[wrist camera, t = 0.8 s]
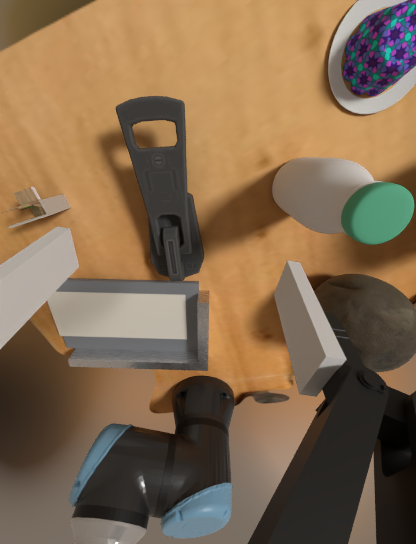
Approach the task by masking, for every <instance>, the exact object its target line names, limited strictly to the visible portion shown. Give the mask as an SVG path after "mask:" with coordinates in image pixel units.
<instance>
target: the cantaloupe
mask: <svg viewBox="0 0 416 544" xmlns="http://www.w3.org/2000/svg"><path fill="white" fill-rule="evenodd" d="M314 293H315V295H316V297H317V299H318V301H319V303H320V305H321V307H322V310H323V312H328V313H333V314H334V315H335V316H336V317H337V318H338V319H339V320H340V321H341V323H342V325H343V327H344V329H345V332H346V333H347V334H348V336H349V339H350V340H351V342H352V344H353V345H354V347H355V349H356V351H357V353H358V355H359V357H360V358H361V360H362V362H363V364H364V366H365V367H367V368H369V369H371V370H373V371H374V372H384V371H389V370H394V369H396V368H398V367H400V366H402V365H403V364H405V363H406V362H408V361H409V360H410V359H411V358H412V357H413V355H414V354H415V353H416V309H415V307H414V306H413V304H412V303H411V302H410V300H409V299H408V298H407V297H406V296H405V295H404V294H403V293H402V292H400V291H399V290H398V289H396V288H395V287H394V286H392V285H390V284H388V283H386V282H384V281H382V280H379V279H377V278H374V277H371V276H367V275H362V274H344V275H339V276H335V277H333V278H330V279H328V280H326V281H325V282H323V283H322V284H321V285H320V286H318V287H317V288H316V290H315V291H314Z"/></svg>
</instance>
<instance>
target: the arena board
mask: <svg viewBox="0 0 416 544" xmlns="http://www.w3.org/2000/svg"><path fill="white" fill-rule="evenodd" d="M198 293H199V281H173V282H172V281H159V280H116V279H73V278H68V279H67V280H66V281H65V282H64V283H63V284H62V285H61V286H60V287H59V288H58V289H57V290H56V291H55V292H54V293H53V295H52V296H51V297H50V298H49V299H48V300H47V302H48V305H49V307H50V310H51V313H52V316H53V318H54V321H55V324H56V327H57V329H58V332H59V335H60V336H63V338H64V341H65V344H66V347H67V348H90V349H124V350H159V351H193V352H198V319H197V301H198Z"/></svg>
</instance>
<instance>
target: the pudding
mask: <svg viewBox="0 0 416 544" xmlns="http://www.w3.org/2000/svg"><path fill="white" fill-rule="evenodd" d="M384 7H388V8H386V9H383V10H381V11H378V12H376V13H373V14H371V15H369V14H370V13H372V12H373V11H375V10H378V9H380V8H384ZM367 15H369V16H368V17H366V16H367ZM365 17H366V18H365ZM364 18H365V19H364ZM363 19H364V20H363ZM362 20H363V22H362V23H361V25H360V28H359V31H358V33H357V34H355V35H353V36H352V37H351V38H350V40H349V41H348V39H349V37H350V35H351V33H352V32H353V30H354V29H355V28H356V26H357V25H358V24H359V23H360V22H361V21H362ZM347 41H348V43H347ZM346 43H347V46H346ZM345 46H346V50H345V54H346V58H347V60H346V62H345V64H344V66H343V76H344V79H345V80H346V81H349V82H351V90H352V92H353V93H354V94H357V95H361V94H363V93H367V94H368V95H369V96H377V95H379V94H380V93H382V92H383V91H384V90H386V89H387V88H388V87H389V86H391V85H393V84H395V83H396V82H397V81H398V80H399V79H400V80H399V81H398V82H397V83H396V84H395V86H393V87H392V88H391V89H390V90H389V91H387V92H385V93H384V94H382V95H380V96H377V97H374V98H360V97H357V96H355V95H353V94H352V93H351V92H350V91H349V90H348V89H347V87H346V86H345V83H344V81H343V77H342V71H341V64H342V56H343V52H344V49H345ZM328 76H329V83H330V87H331V90H332V92H333V94H334V96H335V98H336V100H337V101H338V102H339V103H340V105H342V106H343V107H344V108H345V109H347V110H349V111H351V112H353V113H358V114H371V113H376V112H379V111H382V110H384V109H387V108H388V107H390V106H392V105H393V104H395V103H396V102H398V101H399V100H400V99H401V98H403V97H404V96H405V95H406V94H407V93H408V92H409V91H410V90H411V88H412V87H413V86H414V85H415V83H416V0H358V1H357V2H356V3H355V4H354V5H353V7H352V8H351V9H350V10H349V12H348V13H347V14H346V16H345V17H344V19H343V21H342V22H341V24H340V26H339V28H338V30H337V32H336V34H335V37H334V40H333V43H332V46H331V49H330V55H329V60H328Z"/></svg>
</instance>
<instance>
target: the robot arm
mask: <svg viewBox="0 0 416 544" xmlns="http://www.w3.org/2000/svg"><path fill="white" fill-rule="evenodd" d="M78 267H79V265H78V260H77V256H76V252H75V248H74V244H73V240H72V235H71V231H70V229H69V228H62V227H56V228H54V229H53V230H51V231H50V232H48V233H47V234H45V235H44V236H42V237H41V238H40V239H38V240H37V241H35V242H34V243H32V244H31V245H29V246H28V247H26V248H25V249H23V250H22V251H20V252H19V253H17V254H16V255H14V256H13V257H11V258H10V259H8V260H7V261H5V262H4V263H3V264H1V265H0V349H1V348H2V347H3V346H4V345H5V344H6V343H7V342H8V341H9V340H10V339H11V337H12V336H13V335H14V334H15V333H16V332H17V331H18V330H19V329H20V328H21V327H22V326H23V325H24V324H25V323H26V322H27V321H28V320H29V319H30V318H31V317H32V315H33V314H34V313H35V312H36V311H37V310H38V309H39V308H40V307H41V306H42V305H43V304H44V303H45V302H46V301H47V300H48V299H49V298H50V297H51V296H52V295H53V293H54V292H55V291H56V290H57V289H58V288H59V287H60V286H61V285H62V284H63V283H64V282H65V281H66V280H67V279H68V278H69V277H70V276H71V275H72V274H73V273H74V271H75V270H76V269H77V268H78ZM274 297H275V301H276V305H277V309H278V313H279V317H280V321H281V325H282V329H283V332H284V336H285V340H286V344H287V348H288V352H289V356H290V360H291V364H292V368H293V371H294V375H295V379H296V383H297V387H298V391H299V394H302V395H309V396H317V395H318V394H319V393H320V392H321V390H323V392H324V395H325V398H326V399H325V400H324V401H323V402H322V404H320V406H319V407H318V408H317V409H316V411H317V414H316V415H315V417H314V419H313V421H312V423H311V425H310V427H309V429H308V431H307V433H306V434H305V436H304V438H303V440H302V442H301V444H300V446H299V448H298V450H297V451H296V453H295V455H294V458H293V459H292V461H291V463H290V465H289V467H288V468H287V470H286V472H285V474H284V476H283V478H282V480H281V482H280V484H279V485H278V487H277V489H276V491H275V493H274V495H273V497H272V499H271V501H270V503H269V504H268V506H267V508H266V510H265V512H264V514H263V516H262V518H261V520H260V521H259V523H258V525H257V527H256V529H255V531H254V533H253V535H252V537H251V538H250V540H249V542H248V544H348V542H349V538H350V534H351V531H352V527H353V523H354V519H355V516H356V513H357V509H358V505H359V501H360V498H361V494H362V490H363V487H364V483H365V479H366V476H367V473H368V469H369V465H370V462H371V458H372V454H373V451H374V479H375V511H376V541H377V544H416V391H415V392H414V393H412V394H411V395H407V394H405V393H402V392H400V391H398V390H395V389H393V388H390V387H388V386H387V385H386V383H385V382H384V380H383V379H382V378H381V377H380V376H379V375H378V374H377V373H375V372H374V371H373V370H371V369H369V368H367V367H365V366H364V364H363V362H362V360H361V358H360V357H359V355H358V353H357V351H356V349H355V347H354V345H353V344H352V342H351V340H350V339H349V336H348V334H347V333H346V332H345V329H344V327H343V325H342V323H341V321H340V320H339V319H338V318H337V317H336V316H335V315H334V314H333V313H328V312H323V310H322V307H321V305H320V303H319V301H318V299H317V297H316V295H315V293H314V291H313V289H312V287H311V285H310V283H309V281H308V279H307V276H306V274H305V272H304V270H303V268H302V266H301V264H300V262H294V261H287V262H286V265H285V268H284V270H283V273H282V275H281V278H280V280H279V283H278V285H277V288H276V291H275V293H274ZM172 405H173V412H174V418H175V424H176V430H175V434H170V433H165V432H160V431H155V430H150V429H145V428H140V427H135V426H132V425H122V424H110V425H108V426H107V427H105V428H104V429H103V430H102V431H101V433H100V434H99V436H98V437H97V438H96V440H95V442H94V444H93V445H92V447H91V449H90V450H89V452H88V454H87V456H86V458H85V460H84V462H83V464H82V466H81V468H80V471H79V473H78V475H77V479H76V481H75V483H74V486H73V487H72V490H71V493H70V497H69V502H70V504H71V505H72V506H73V507H76V508H75V511H74V514H73V516H72V519H71V522H70V523H71V526H72V530H73V534H74V543H73V544H136V543H137V542H138V541H139V540H140V539H141V538H142V537H143V536H144V534H145V533H146V529H147V524H148V519H149V517H157V518H161V527H162V532H163V533H164V534H165V535H167V536H171V537H173V538H193V537H199V536H204V535H208V534H210V533H213V532H216V531H218V530H219V529H221V528H222V527H224V526H225V525H226V524H227V522H228V521H229V519H230V516H231V491H232V484H231V472H230V471H231V470H230V452H229V435H228V429H229V425H230V421H231V417H232V413H233V409H234V394H233V391H232V389H231V388H230V386H229V385H227V384H226V383H225V382H223V381H221V380H219V379H217V378H213V377H208V376H197V377H191V378H188V379H186V380H184V381H182V382H180V383H179V384H178V385H177V386H176V388H175V390H174V394H173V400H172Z"/></svg>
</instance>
